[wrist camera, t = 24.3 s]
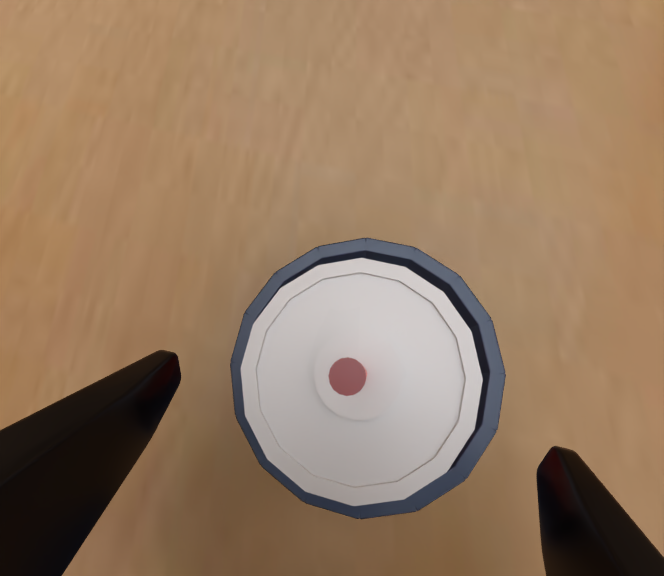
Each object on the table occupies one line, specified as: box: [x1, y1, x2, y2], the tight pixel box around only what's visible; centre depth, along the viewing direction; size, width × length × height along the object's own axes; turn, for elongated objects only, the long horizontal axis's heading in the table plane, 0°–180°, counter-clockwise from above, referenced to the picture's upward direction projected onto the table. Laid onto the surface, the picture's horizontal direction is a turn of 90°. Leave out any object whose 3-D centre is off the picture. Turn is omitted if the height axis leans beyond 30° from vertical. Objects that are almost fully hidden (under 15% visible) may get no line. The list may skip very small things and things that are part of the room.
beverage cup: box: [241, 258, 483, 506], centre depth 12 cm, size 6×6×14 cm
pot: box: [230, 238, 506, 519], centre depth 17 cm, size 11×11×4 cm
